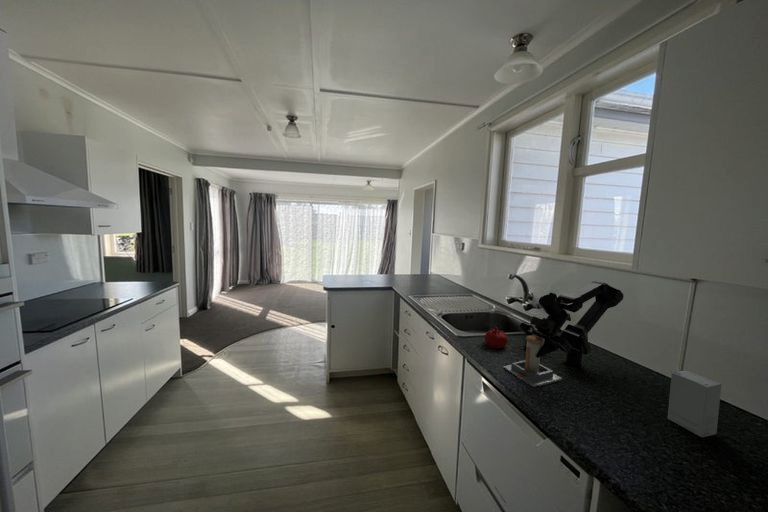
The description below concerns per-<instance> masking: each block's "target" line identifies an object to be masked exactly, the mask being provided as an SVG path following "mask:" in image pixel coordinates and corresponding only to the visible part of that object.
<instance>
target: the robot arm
mask: <svg viewBox="0 0 768 512" xmlns="http://www.w3.org/2000/svg"><path fill="white" fill-rule="evenodd" d="M624 297H625V296H624V293H623V292H622V290H620V289H619V288H615V287H613V286H611V285H609V284H608V283H607V282H604V281H603V282H602V281H597V280H594V281H592V282H591V283H589V284H588V285H585V286H584V287H582V288H580V289H578V290H576V291H574V292H566V293H561V294H560V295H558V296H557V294H556V293H554V292H549V294H545V295H542V296H540V298H539V299H538V304H539V305H540V306H541V308H542V309H543V311H544V312H545V313H546V314H547V316H546V318H545V317H543V318H540V317H537V316H534V315H533V316H532V318H531V320H530V322H529V323H527V322H525V321H522V322H520V324H519V325H518V327H519V328H520V330H521V331H522V332H523V333H524V334H525V336H526V337H527V336H530V335H531V336H538V337H541V338H543V339H545V341H544V344H543V346H542V347H541V348H540V350H539V351H538V353H537V354H536V357H537V358H539V357H540V358H542V357H543V356H546V355H547V354H550V353H553V352H559V351H561V352H563V353H565V358H564V359H563V360H562V363H563V364H566V365H569V366H572V367H573V368H577V369H580V370H581V369H582V368H583V367H584V366H585V364H586V362H584V361H583V359H584V355H589V353H590V352H591V349H592V347H591V345H590V344H589V343H588V342H589V336H588V335H589V333H590V331H591V330H592V329H593V328H594V326H595V325H596V324H597V322H598V321H599V320H600V319H601V318H602V317H603V315H605V313H606V311H607V310H609V309H611V308H613V307H617V305H619V304H620V303H621V302H622V301H623V300H624ZM593 298H595V301H594V302H593V303H592V305H591V306H589V307H588V309H587V310H586V312H585V313H584V314H583V316H581V317H580V318H579V320H578V322H577V323H576V324H571V323H570V324H567V325H566V326H565V328H564V329H562V327H563V326H564V325H565V323H566V322H567V321H568V322H572V318H571V314H570V313H573V314H575V313H578V312H579V311H580V310H581V309H582V308H583V305H584V304H585V303H586V302H588V301H590V300H591V299H593ZM568 312H570V313H568ZM530 324H533V325H535V328H536V329H538V330H535V329H534V328H533V326H532V325H530ZM558 333H559V334H560V336H559V335H557V334H558ZM526 347H527V340H525V345H524V348H523V350H524V352H525V353H526Z"/></svg>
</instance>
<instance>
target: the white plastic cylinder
mask: <svg viewBox="0 0 768 512" xmlns="http://www.w3.org/2000/svg"><path fill="white" fill-rule="evenodd" d="M525 339H526V340H527V347H526V352H525V359H524V360H525V370H527V371H528V372H531V373H538V372H539V366H540V364H541V363H540V362H541V357H539V358H537V357H536V354H537V353H538V351H539V350H540V348H541V344H542V343H543V339H542V338H540V337H537V336H531V335H530V336H527V335H526V338H525ZM526 340H525V341H526Z"/></svg>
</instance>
